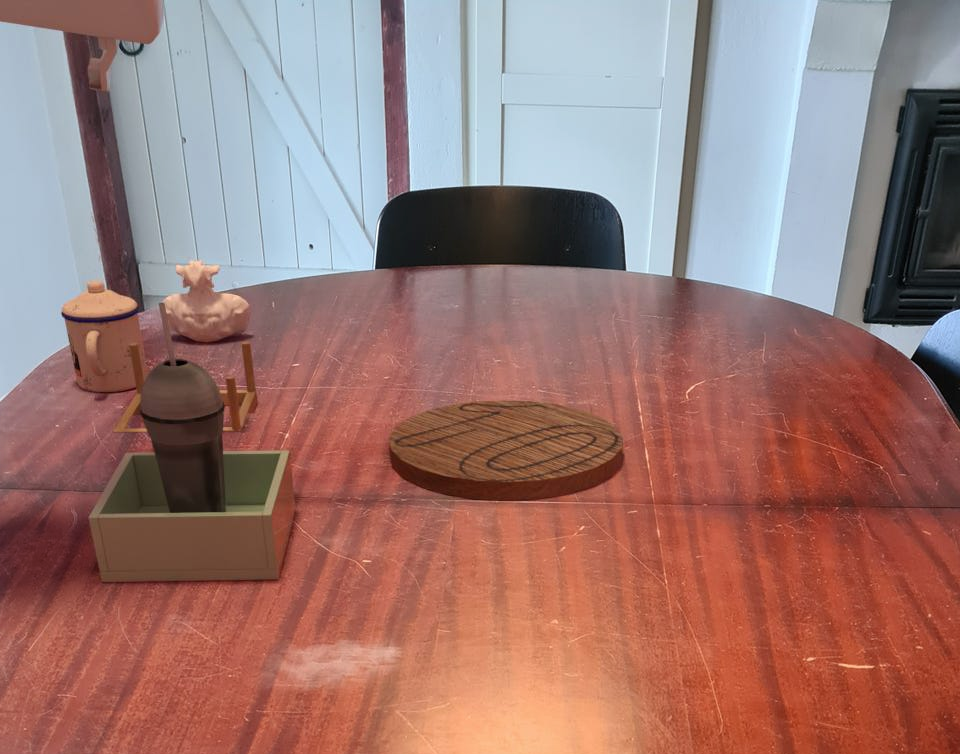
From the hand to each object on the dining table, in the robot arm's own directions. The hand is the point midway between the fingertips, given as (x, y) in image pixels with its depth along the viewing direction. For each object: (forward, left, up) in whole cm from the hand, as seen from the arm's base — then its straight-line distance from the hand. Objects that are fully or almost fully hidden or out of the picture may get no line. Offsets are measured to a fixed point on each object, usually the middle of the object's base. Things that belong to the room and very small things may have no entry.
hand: (41, 78), depth 101 cm
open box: (+10, -11, -36) cm, 39 cm away
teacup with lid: (-9, +37, -36) cm, 53 cm away
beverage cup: (+10, -11, -35) cm, 38 cm away
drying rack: (+3, +23, -36) cm, 43 cm away
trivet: (+39, +11, -36) cm, 54 cm away
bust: (0, +57, -36) cm, 68 cm away
